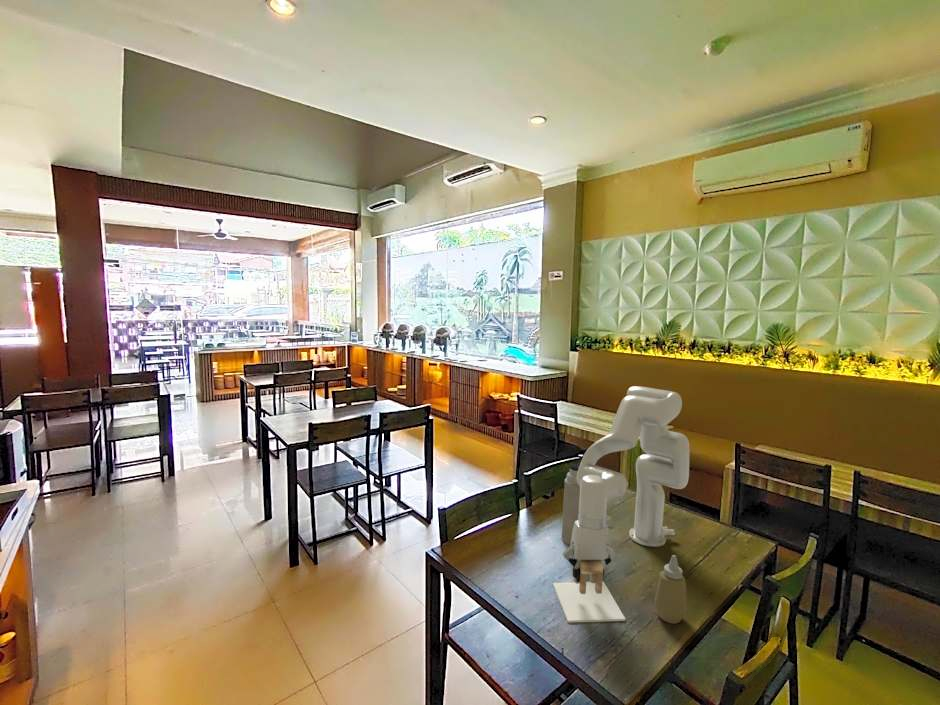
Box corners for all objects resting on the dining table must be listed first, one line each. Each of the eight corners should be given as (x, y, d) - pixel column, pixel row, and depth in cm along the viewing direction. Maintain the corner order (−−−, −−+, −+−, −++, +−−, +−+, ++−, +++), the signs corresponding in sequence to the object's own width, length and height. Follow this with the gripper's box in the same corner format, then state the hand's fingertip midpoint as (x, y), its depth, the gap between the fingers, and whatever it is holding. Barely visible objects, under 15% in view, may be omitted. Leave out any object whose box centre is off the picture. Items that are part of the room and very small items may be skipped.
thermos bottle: (560, 533, 166) (564, 461, 163) (582, 534, 166) (586, 462, 162) (562, 544, 159) (566, 469, 155) (585, 546, 158) (590, 470, 154)
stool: (594, 580, 131) (595, 553, 130) (601, 593, 125) (603, 565, 124) (574, 580, 131) (575, 553, 130) (580, 593, 125) (582, 565, 124)
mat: (603, 583, 138) (603, 581, 137) (625, 620, 122) (625, 618, 122) (552, 584, 136) (552, 582, 136) (567, 622, 120) (568, 620, 120)
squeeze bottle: (648, 607, 127) (652, 548, 125) (675, 606, 128) (680, 547, 126) (662, 628, 119) (667, 565, 117) (691, 626, 120) (697, 564, 118)
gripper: (616, 513, 130) (612, 570, 132) (558, 513, 129) (555, 571, 131) (627, 526, 123) (622, 586, 125) (565, 526, 121) (562, 588, 124)
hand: (588, 578), depth 128 cm, fingers closed on stool, 6 cm apart
